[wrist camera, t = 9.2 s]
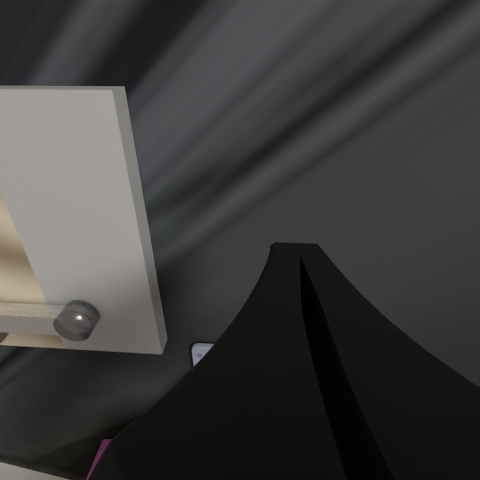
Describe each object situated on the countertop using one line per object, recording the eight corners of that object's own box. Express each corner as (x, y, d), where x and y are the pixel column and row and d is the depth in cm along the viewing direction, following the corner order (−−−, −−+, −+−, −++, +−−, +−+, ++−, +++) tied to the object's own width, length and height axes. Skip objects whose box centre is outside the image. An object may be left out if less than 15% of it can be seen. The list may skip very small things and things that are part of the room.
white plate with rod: (167, 338, 25) (162, 354, 24) (75, 333, 26) (65, 348, 24) (124, 86, 16) (112, 90, 15) (-19, 85, 16) (-43, 88, 15)
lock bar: (95, 301, 21) (85, 316, 20) (103, 326, 23) (94, 342, 21) (-77, 293, 22) (-96, 307, 21) (-59, 318, 23) (-77, 333, 22)
